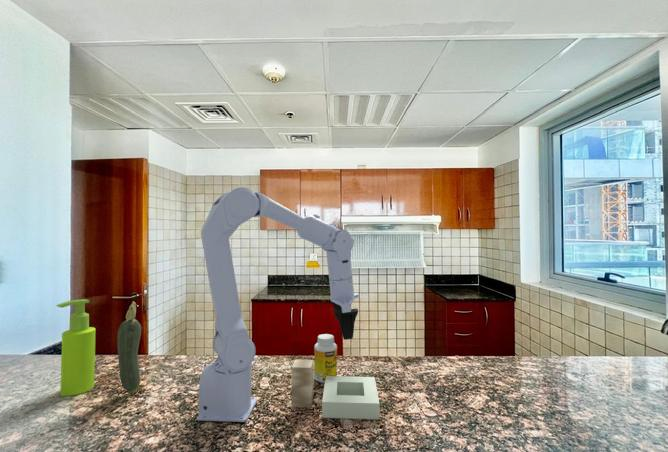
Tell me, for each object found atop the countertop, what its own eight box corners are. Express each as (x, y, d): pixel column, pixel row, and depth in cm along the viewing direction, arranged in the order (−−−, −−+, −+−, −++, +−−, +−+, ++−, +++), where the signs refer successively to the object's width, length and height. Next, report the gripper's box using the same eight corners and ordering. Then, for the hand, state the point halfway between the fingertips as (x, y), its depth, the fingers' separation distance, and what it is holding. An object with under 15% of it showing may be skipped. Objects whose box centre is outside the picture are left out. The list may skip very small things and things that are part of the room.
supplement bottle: (324, 386, 72) (324, 341, 73) (309, 378, 76) (309, 336, 77) (341, 378, 76) (341, 336, 77) (326, 371, 80) (326, 331, 81)
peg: (291, 406, 64) (291, 367, 64) (294, 396, 68) (295, 359, 68) (311, 407, 64) (311, 367, 64) (313, 397, 68) (313, 359, 68)
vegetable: (128, 400, 66) (129, 304, 66) (110, 398, 67) (112, 304, 67) (144, 390, 70) (146, 300, 71) (128, 388, 71) (130, 299, 72)
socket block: (321, 417, 60) (322, 401, 60) (325, 389, 71) (325, 375, 71) (379, 419, 60) (379, 403, 60) (374, 390, 71) (374, 377, 71)
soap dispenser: (49, 394, 68) (51, 301, 69) (86, 381, 74) (88, 296, 75) (62, 400, 66) (64, 304, 66) (99, 386, 72) (101, 298, 72)
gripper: (361, 282, 70) (367, 342, 70) (352, 270, 84) (357, 320, 85) (330, 286, 69) (336, 346, 70) (326, 273, 83) (331, 323, 84)
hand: (346, 332), depth 77 cm, fingers open, 7 cm apart
